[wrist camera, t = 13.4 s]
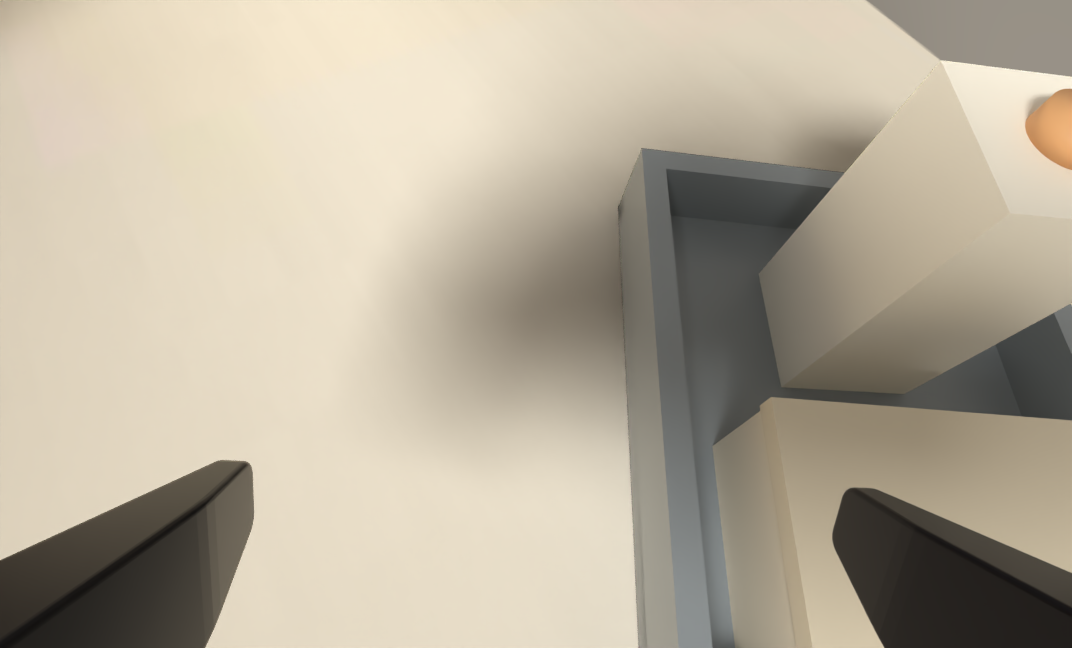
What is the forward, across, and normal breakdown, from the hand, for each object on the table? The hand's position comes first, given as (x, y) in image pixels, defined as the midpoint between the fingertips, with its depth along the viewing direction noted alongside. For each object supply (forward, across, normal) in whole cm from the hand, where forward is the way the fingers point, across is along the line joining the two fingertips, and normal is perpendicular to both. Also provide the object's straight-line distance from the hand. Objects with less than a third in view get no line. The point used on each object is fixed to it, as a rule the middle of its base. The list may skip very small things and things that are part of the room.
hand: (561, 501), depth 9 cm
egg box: (+10, -14, +8) cm, 19 cm away
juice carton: (+16, -14, +2) cm, 22 cm away
